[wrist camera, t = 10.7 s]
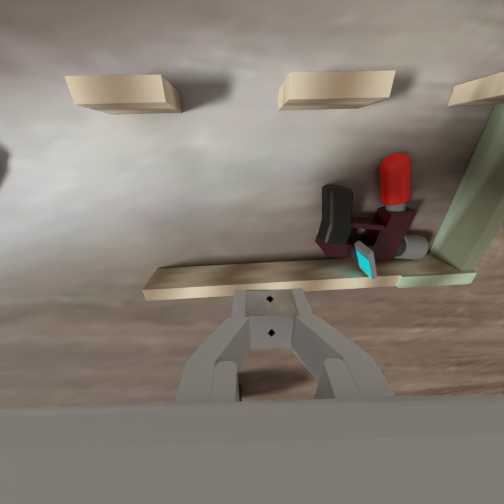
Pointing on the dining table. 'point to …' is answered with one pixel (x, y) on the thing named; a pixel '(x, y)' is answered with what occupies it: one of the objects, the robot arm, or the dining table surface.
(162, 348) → the dining table surface
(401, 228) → the toy gun
